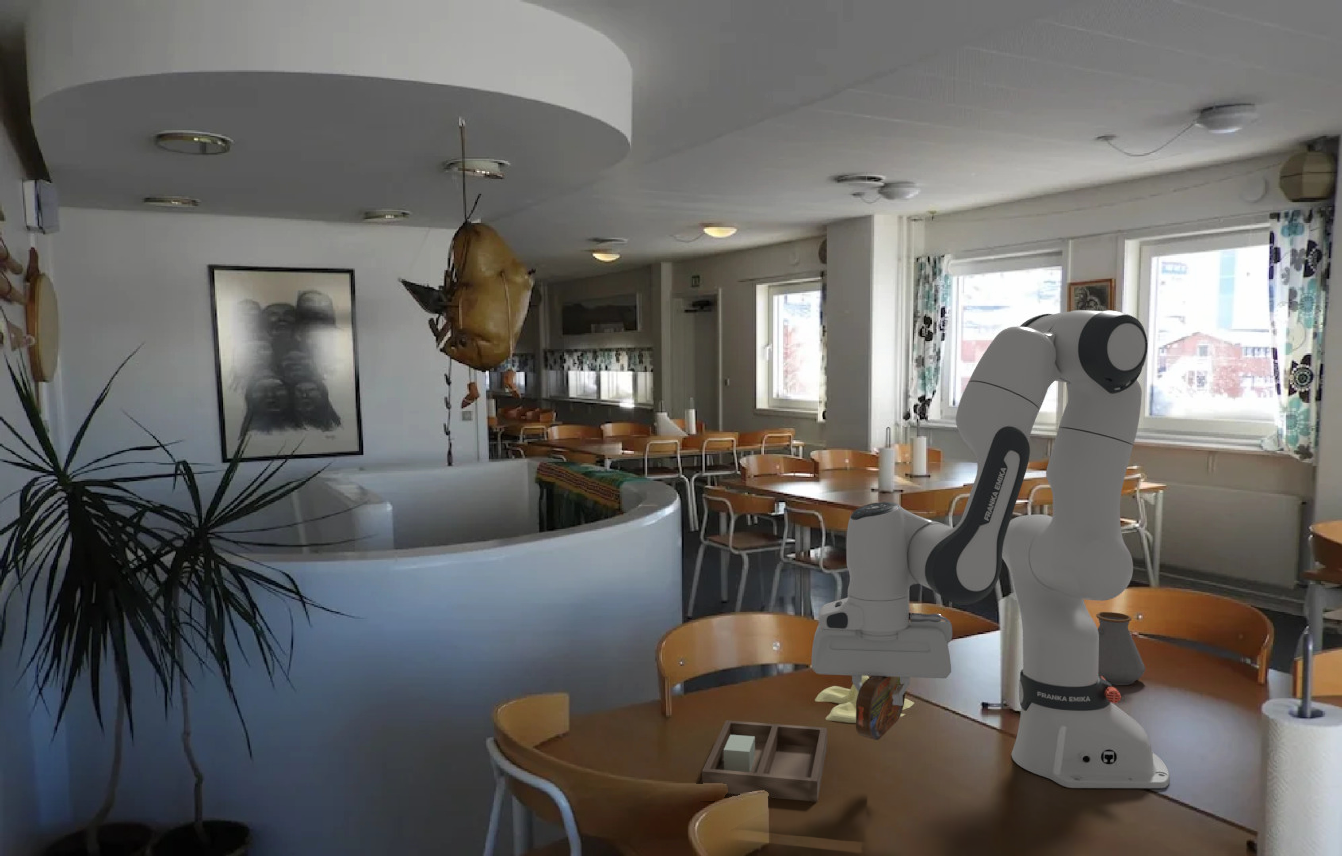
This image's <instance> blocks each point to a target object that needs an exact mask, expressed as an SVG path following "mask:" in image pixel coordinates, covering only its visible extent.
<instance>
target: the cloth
mask: <svg viewBox="0 0 1342 856" xmlns="http://www.w3.org/2000/svg"><path fill="white" fill-rule="evenodd" d="M868 678H870V676H862V682H861V683H862V684H863V683H864V682H865V681H866V680H867V679H868ZM858 693H859V692H858V690H857V689H856V687H855V686H854V684H853V683H852V685H851V687H850V688H845V687H843V686H837V685H833V686H830V687H827V688H824V689H823V690H822V691H821V692H819V693H818V695H817V696H816V697H815V698H814V701H815V702H827V703H828V702H829V703H834V704H838V705H836V706H834V707H833V708H832V709H831V710H830V713H829V714H828V715H827V716H826V717H825V720H826V721H829V722H830V721H833V722H839V723H846V724H847V723H848V724H856V701H857V696H858ZM914 704H915V702H914V701H913V700H912V701H911V700H909V699H908V698H905V700H904V706H903V709H902V711H903V710H906V709H909V708H911V707H912V706H913V705H914ZM905 715H906V713H901V715H900V717H901V718H902V717H903V716H905ZM900 717H899V718H900Z"/></svg>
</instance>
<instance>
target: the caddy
mask: <svg viewBox="0 0 1342 856" xmlns="http://www.w3.org/2000/svg"><path fill="white" fill-rule="evenodd" d="M730 735H742V736H755V760H754V762H753V765H752V768H751V771H750V772H740V771H729V770H724V748H725V746H726V744H727V741H728V739H729V737H730ZM827 748H828V728H827V727H820V726H819V727H818V726H808V725H807V726H806V725H793V724H781V723H766V722H753V721H741V720H740V721H739V720H738V721H737V720H729V719H728V720H727V719H726V720H725V721H724V723H723V726H722V729H721V730H720V732H719V735H718V736H717V738H716V741H715V743H714V745H713V748H712V749H711V751H710V754H709V756H708V758H707V760H706V762H705V764H704V766H703V769H702V771H701V774H702V775H701V776H702V777H701V779H702V783H723V784H727V786H728V793H727V794H729V795H730V794H732V795H739V794H740V793H743V792H752V791H756V790H765V791H767V792H768V793H769V797H768V798H771V799H772V798H774V799H781V800H782V799H784V800H791V801H792V800H794V801H804V802H806V801H807V802H813V803H814V802H815V803H817V802H818V801H819V795H820V791H821V790H820V788H821V783H822V776H823V771H824V765H825V760H826V754H827V750H828V749H827ZM702 783H701V784H702Z"/></svg>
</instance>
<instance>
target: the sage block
mask: <svg viewBox="0 0 1342 856" xmlns="http://www.w3.org/2000/svg"><path fill="white" fill-rule="evenodd" d="M754 760H755V736H742V735H730V737H729V739H728V741H727V744H726V746H725V748H724V770H729V771H740V772H750V771H751V768H752V765H753V762H754Z"/></svg>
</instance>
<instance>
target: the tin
mask: <svg viewBox="0 0 1342 856" xmlns="http://www.w3.org/2000/svg"><path fill="white" fill-rule="evenodd" d="M900 686H901V683H900V677H886V676H869V678H868V679H867V680H866V681H865V682H864V683H863V684H862V686H861V688H860V690H859V693H858V696H857V701H856V723H855V729H856V732H857V734H858V735H859V736H861V737H864V738H868V739H872V740H873V741H879V740H880V739H881V738H882V737H883V736H884V735H885V734H886V733H887V732H888V731H889V730H890V729H891V728H892V727H893V726H894V725H895V724H896V723H897V722H898V721H899V719H900V715H901V714H903V713H902V711H903V710H902V709H903V706H904V700H905V699H906V691H907V690H906V691H905V693H904V694H903V706H899V705H893V697H892V690H898V689H899V687H900Z"/></svg>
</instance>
